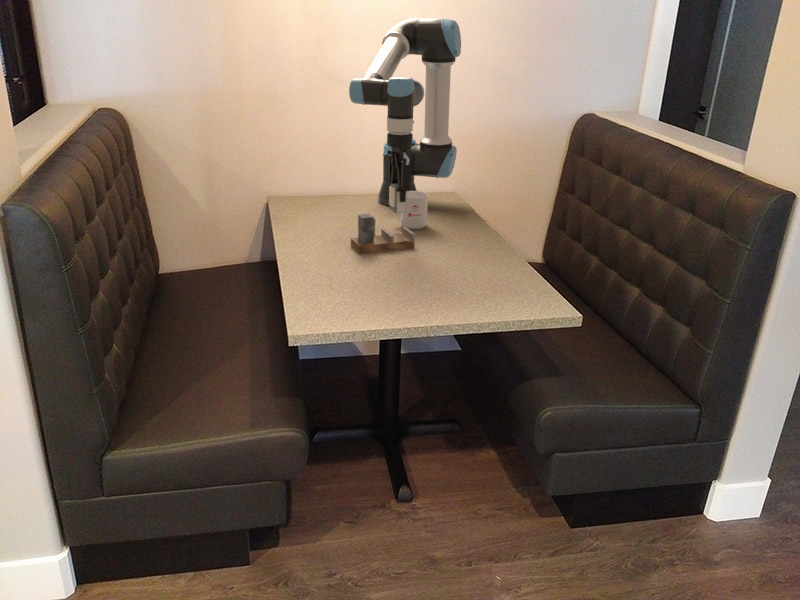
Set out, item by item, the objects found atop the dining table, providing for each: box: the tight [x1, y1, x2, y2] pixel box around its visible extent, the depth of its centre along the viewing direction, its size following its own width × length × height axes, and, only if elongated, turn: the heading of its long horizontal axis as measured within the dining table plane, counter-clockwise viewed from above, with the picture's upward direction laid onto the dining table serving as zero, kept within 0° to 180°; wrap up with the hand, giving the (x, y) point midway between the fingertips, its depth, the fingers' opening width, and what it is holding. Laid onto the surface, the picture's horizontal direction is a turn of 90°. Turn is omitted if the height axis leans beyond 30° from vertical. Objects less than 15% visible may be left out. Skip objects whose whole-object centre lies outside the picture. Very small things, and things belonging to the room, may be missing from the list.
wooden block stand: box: [350, 213, 416, 255], centre depth 217 cm, size 18×8×10 cm, turn 112°
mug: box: [391, 190, 429, 230], centre depth 237 cm, size 12×9×11 cm
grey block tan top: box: [389, 183, 407, 214], centre depth 215 cm, size 4×4×8 cm
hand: (398, 209), depth 217 cm, fingers closed on grey block tan top, 4 cm apart
